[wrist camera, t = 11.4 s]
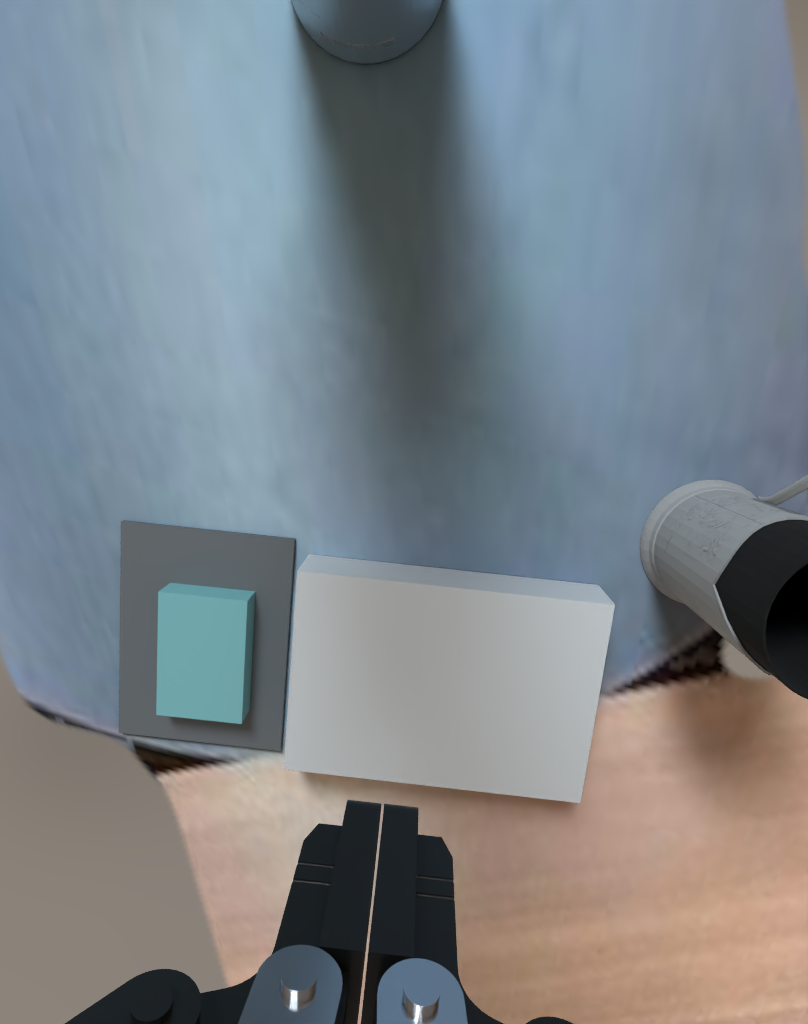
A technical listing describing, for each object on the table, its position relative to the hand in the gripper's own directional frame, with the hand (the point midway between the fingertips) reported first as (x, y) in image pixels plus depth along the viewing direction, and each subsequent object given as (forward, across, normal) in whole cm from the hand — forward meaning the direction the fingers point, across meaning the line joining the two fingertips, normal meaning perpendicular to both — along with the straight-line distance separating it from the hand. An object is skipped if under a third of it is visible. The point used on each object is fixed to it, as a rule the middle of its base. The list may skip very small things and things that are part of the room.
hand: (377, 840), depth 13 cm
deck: (+31, -3, +10) cm, 32 cm away
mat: (+31, +14, +10) cm, 35 cm away
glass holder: (+31, -21, -3) cm, 38 cm away
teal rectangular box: (+28, +13, +11) cm, 33 cm away
